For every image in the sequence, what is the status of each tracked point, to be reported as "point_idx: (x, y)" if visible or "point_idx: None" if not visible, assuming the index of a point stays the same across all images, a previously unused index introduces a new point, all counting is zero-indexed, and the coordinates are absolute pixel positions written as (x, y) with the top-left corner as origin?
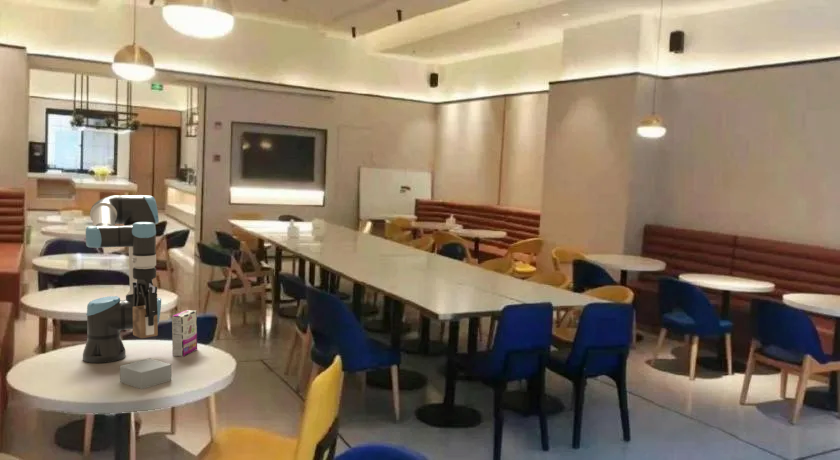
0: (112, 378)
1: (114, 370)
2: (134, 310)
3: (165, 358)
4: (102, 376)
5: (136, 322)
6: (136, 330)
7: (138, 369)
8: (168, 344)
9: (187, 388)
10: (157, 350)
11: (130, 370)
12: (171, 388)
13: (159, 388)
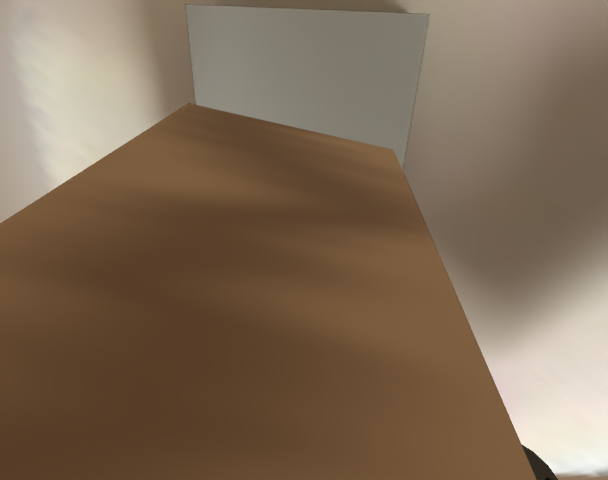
0: (499, 30)
1: (588, 130)
2: (377, 422)
3: (482, 346)
4: (583, 17)
5: (275, 200)
6: (296, 153)
7: (262, 44)
8: (593, 442)
9: (79, 150)
10: (586, 390)
11: (306, 9)
12: (124, 108)
13: (161, 73)
